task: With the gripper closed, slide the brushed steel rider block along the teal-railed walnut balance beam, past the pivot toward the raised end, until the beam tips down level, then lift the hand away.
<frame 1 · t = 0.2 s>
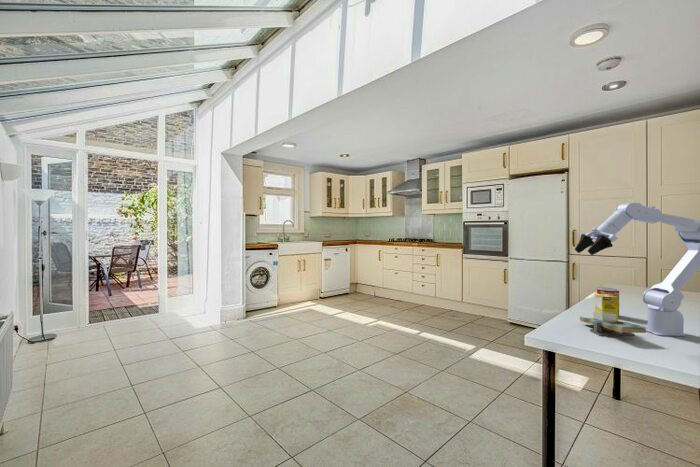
hand: (583, 252, 122), 31 cm above the table, tool tilted 45°, fingers open, 7 cm apart
balance beam: (609, 323, 120), point 3 cm above the table, hinge at -6.3°, touching steel rider
canned food: (607, 315, 144), on the table
supplement box: (606, 321, 135), on the table
steel rider: (605, 321, 123), point 3 cm above the table, tilted 6°, touching balance beam
beam stand: (611, 333, 119), on the table
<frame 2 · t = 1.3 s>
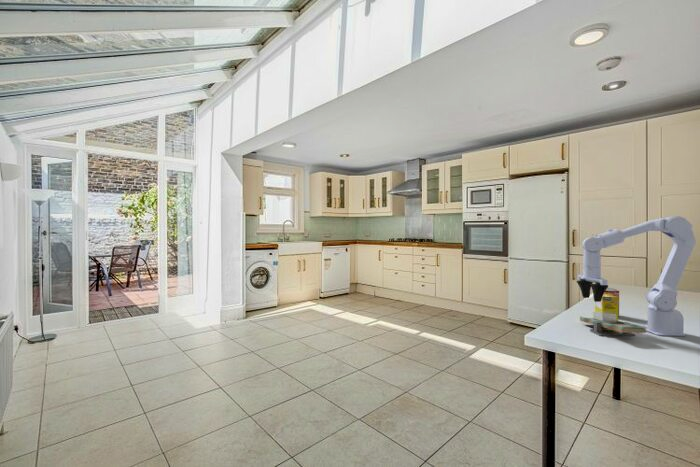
hand: (591, 299, 130), 10 cm above the table, tool pointing down, fingers open, 6 cm apart
nothing on the table moved.
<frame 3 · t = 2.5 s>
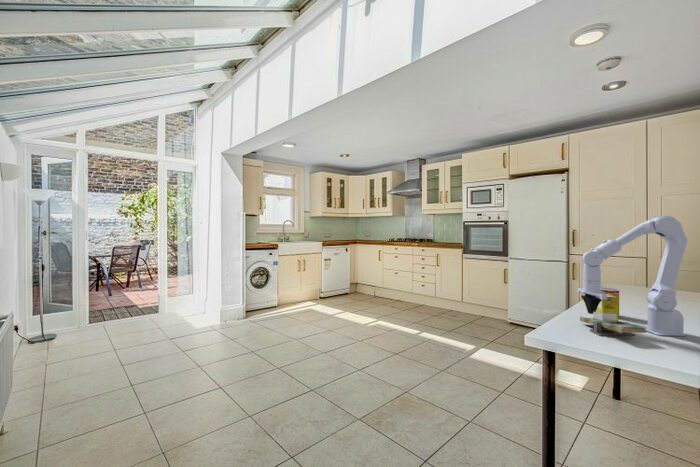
hand: (591, 313, 130), 5 cm above the table, tool pointing down, fingers closed
nothing on the table moved.
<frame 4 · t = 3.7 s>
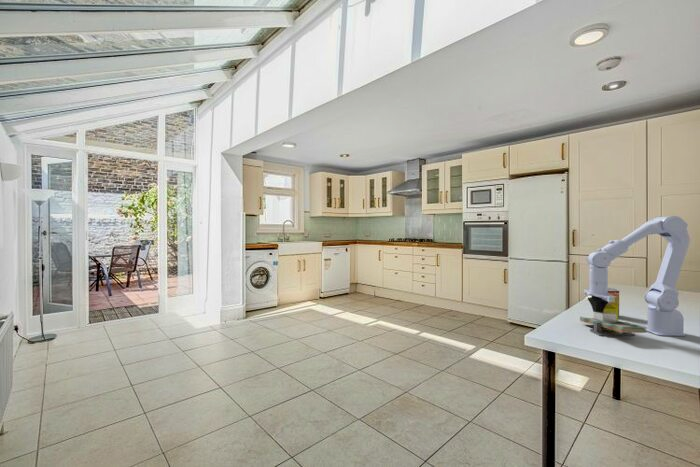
hand: (598, 316, 126), 5 cm above the table, tool pointing down, fingers closed
steel rider: (605, 321, 122), point 3 cm above the table, tilted 6°, touching balance beam, gripper
everything else where it was.
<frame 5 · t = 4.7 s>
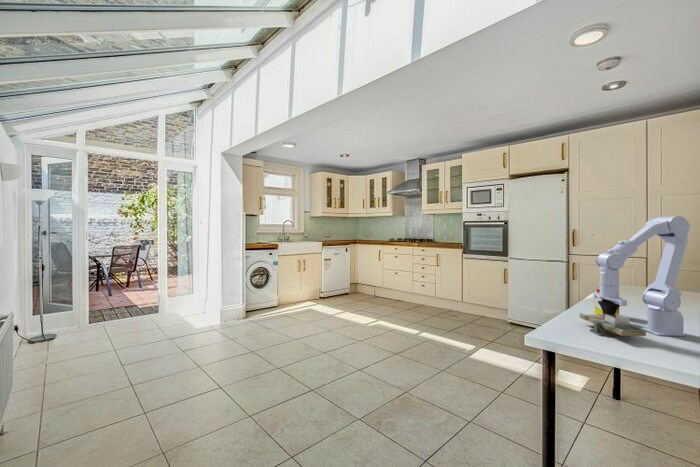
hand: (609, 320, 121), 5 cm above the table, tool pointing down, fingers closed
balance beam: (609, 323, 120), point 4 cm above the table, hinge at 0.1°
steel rider: (616, 325, 117), point 4 cm above the table, touching gripper
everything else where it was.
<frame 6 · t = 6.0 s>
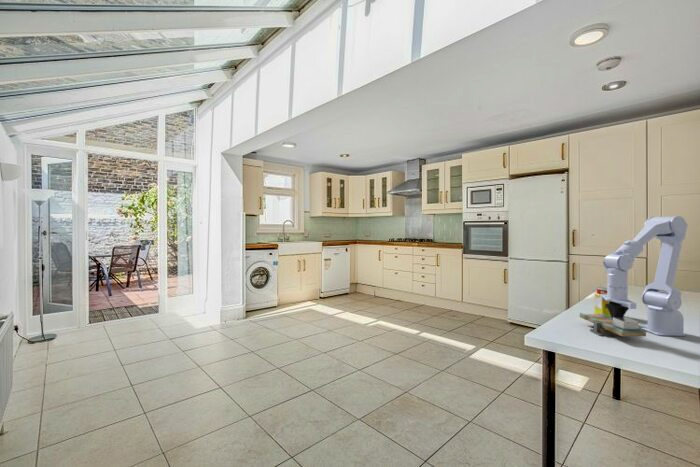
hand: (617, 323, 117), 5 cm above the table, tool pointing down, fingers closed
balance beam: (609, 323, 120), point 4 cm above the table, hinge at 1.0°, touching steel rider
steel rider: (625, 329, 113), point 4 cm above the table, touching balance beam, gripper
everything else where it was.
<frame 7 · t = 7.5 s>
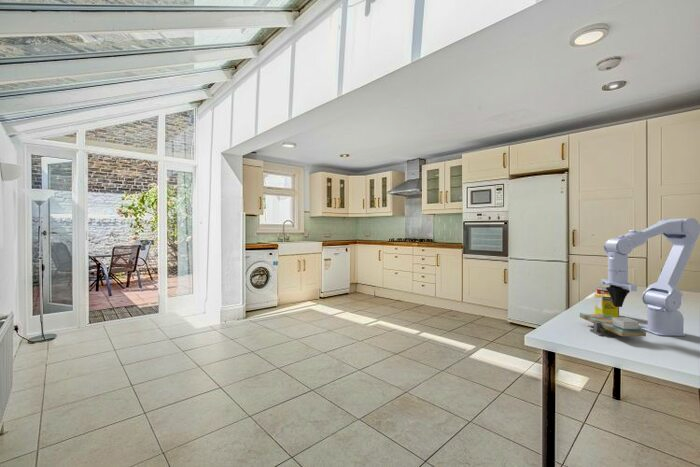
hand: (617, 306, 119), 10 cm above the table, tool pointing down, fingers closed
steel rider: (625, 329, 113), point 4 cm above the table, touching balance beam
everything else where it was.
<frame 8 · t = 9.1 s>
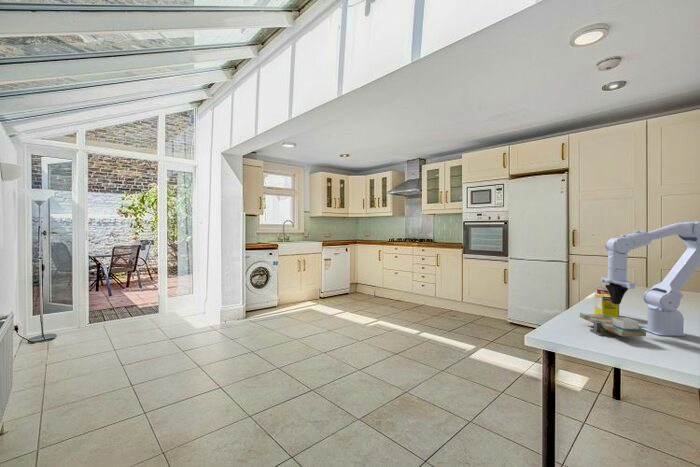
hand: (616, 303, 123), 10 cm above the table, tool pointing down, fingers closed
nothing on the table moved.
at the end: balance beam at +1° (first picture: -6°); steel rider 0.8 cm from the target spot on the balance beam, point 0.5 cm above the balance beam's base; steel rider tilted 1° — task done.
